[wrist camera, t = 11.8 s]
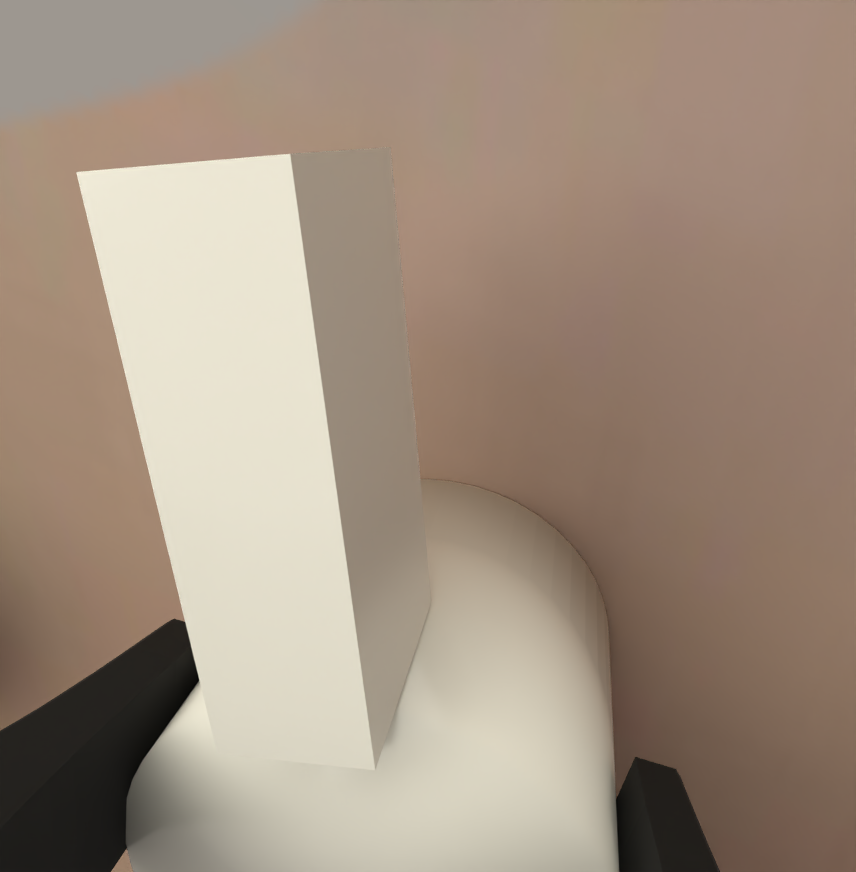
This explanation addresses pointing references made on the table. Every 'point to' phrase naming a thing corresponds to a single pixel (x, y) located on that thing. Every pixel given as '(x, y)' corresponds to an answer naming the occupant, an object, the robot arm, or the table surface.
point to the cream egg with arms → (336, 554)
